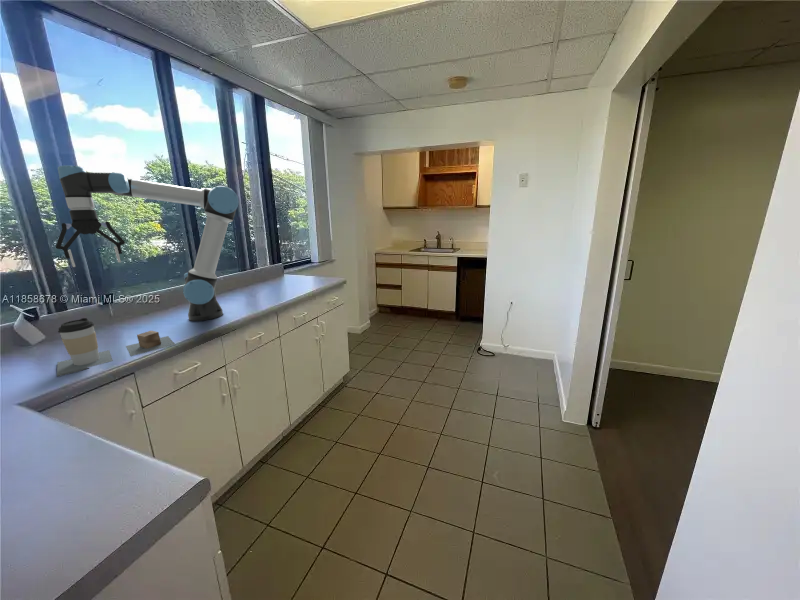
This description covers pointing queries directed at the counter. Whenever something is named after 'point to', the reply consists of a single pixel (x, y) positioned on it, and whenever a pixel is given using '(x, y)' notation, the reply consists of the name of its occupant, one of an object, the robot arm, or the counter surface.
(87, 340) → the coffee cup
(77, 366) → the pad
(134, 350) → the pad
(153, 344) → the walnut block
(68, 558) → the counter surface
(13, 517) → the counter surface
